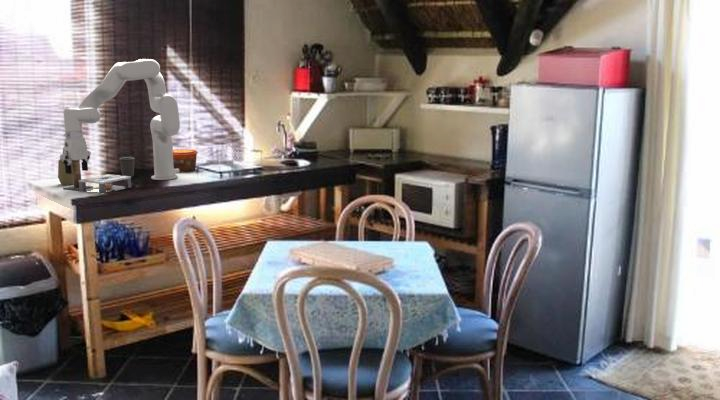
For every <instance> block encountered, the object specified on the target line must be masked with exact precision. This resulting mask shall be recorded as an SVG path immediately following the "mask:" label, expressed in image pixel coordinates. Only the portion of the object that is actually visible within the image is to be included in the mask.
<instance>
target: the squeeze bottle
mask: <svg viewBox="0 0 720 400" xmlns="http://www.w3.org/2000/svg"><path fill="white" fill-rule="evenodd" d="M63 153H64V146H63V148H62V154H63ZM62 154H61V153H60V155H59V157H60V156H61V155H62ZM65 160H66V159H65ZM57 165H58V166H57V178H58V180H59V182H60V185H63V186H73V185H74V181H73V170H72V173H71V174H66V171H65V165H64V163H63V162H62V160H61V159H60V158H59V159H58V164H57ZM70 165H71V169H72V162H71V163H70Z"/></svg>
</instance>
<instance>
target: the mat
mask: <svg viewBox="0 0 720 400" xmlns="http://www.w3.org/2000/svg"><path fill="white" fill-rule="evenodd" d="M91 188H94V186H93V185H86V190H87V189H91ZM62 189H63V190H66V191H67V190H68V191H77V192H80V191H79V188H74V185H70V186H67V187H63V188H62Z"/></svg>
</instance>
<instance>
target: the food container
mask: <svg viewBox="0 0 720 400" xmlns="http://www.w3.org/2000/svg"><path fill="white" fill-rule="evenodd" d="M198 153H199V152H198V151H197V150H195V149H183V148H182V149H173V164H174V168H175V169H179V172H178V173H189V172H195V171H196V170H197V169H196V166H197V155H198Z"/></svg>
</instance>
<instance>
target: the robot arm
mask: <svg viewBox="0 0 720 400" xmlns="http://www.w3.org/2000/svg"><path fill="white" fill-rule="evenodd" d="M160 67H161V65H160V64H159V62H157V60H155V59H151V58H150V59H149V58H147V59H146V58H142V59H141V58H139V59H138V60H135V61H128V62H127V61H122V62H116V63H115V64H114V65H113V66H112V67H111V69H110V70H109V71H108V73H107V74H106V75H105V77H104V78H103V79H102V81H101V82H100V83H99V85H97V87H95V88H94V89H93V90H92V91H90V93H89V94H88V95H87V96H86V97H84V99H83V100H82V101H81V103H80V104H79V106H78V107H68V108H67V107H66V108H64V109H63V122H64V134H63V136H64V137H65V139H64V143H63V147H64V153H63V152H62V153H63V154H62V155H61V154H60V155H61V156H60V155H59V160H60V159H61V160H62V162H63V163H64V165H65V171H66V174H71V173H72V169H71V165H70V163H71V162H72V160H73V161H75V160H81V162H80V165H81V171H83V172H87V171H89V165H88V163H89V160H90V158H91V154H92V152H91V151H89V150H88V147H87V142H86V138H85V137H84V132H83V131H84V130H83V124H96V123H98V122H99V121H100V120H101V117H102V114H101V111H100V110H99V107H100V106H102V105H103V104H104V103H106V102H107V101H110V100H112V99H113V98H115V97H116V96H117V94H118V93H119V92H120V90H121V89H122V88H123V86H124V85H125V83H126V82H127V81H138V80H144V82H145V83H146V87H147V92H148V99H149V105H150V107H149V108H150V109H151V110H152V111H153V112H155V113H158V114H159V115H156V116H154V117H153V118H152V119H151V120H150V125H149V127H150V133H151V139H152V151H153V153H152V154H153V171H154V173H153V174H154V175H151V177H150V178H151V179H152V180H154V181H168V180H175V179H178V175H177V174H176V173H180V172H179V169H175V168H174V164H173V150H174V148H173V146H174V144H173V138H172V136H173V137H174V136H176V135H177V134H178V133H179V131H180V128H181V127H180V126H181V125H180V124H181V121H180V114H179V106H178V102H177V100H176V98H175V97H174V96H173V95H171V94H169V93H167V87H166V82H165V79H164V77H163V75H162V74H161V68H160ZM65 159H66V160H65Z"/></svg>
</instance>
